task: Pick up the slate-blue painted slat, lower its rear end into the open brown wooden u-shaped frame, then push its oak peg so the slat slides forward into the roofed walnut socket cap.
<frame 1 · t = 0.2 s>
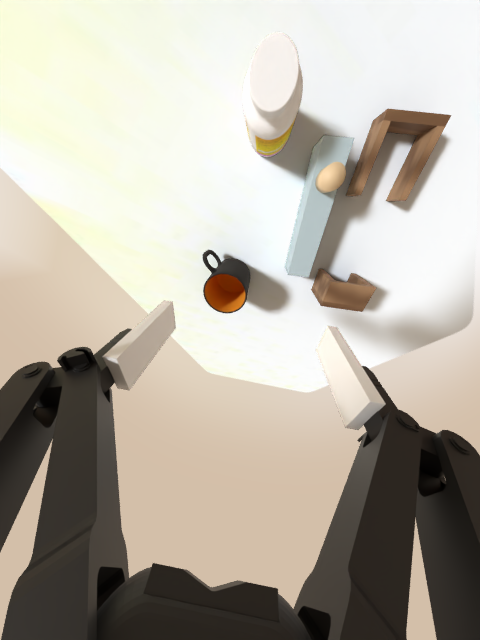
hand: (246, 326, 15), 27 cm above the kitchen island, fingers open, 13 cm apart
brown wooden u-shaped frame: (383, 164, 27), on the kitchen island
mug: (228, 269, 40), on the kitchen island
slat: (306, 218, 33), on the kitchen island
supplement bottle: (269, 129, 27), on the kitchen island
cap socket: (332, 282, 38), on the kitchen island
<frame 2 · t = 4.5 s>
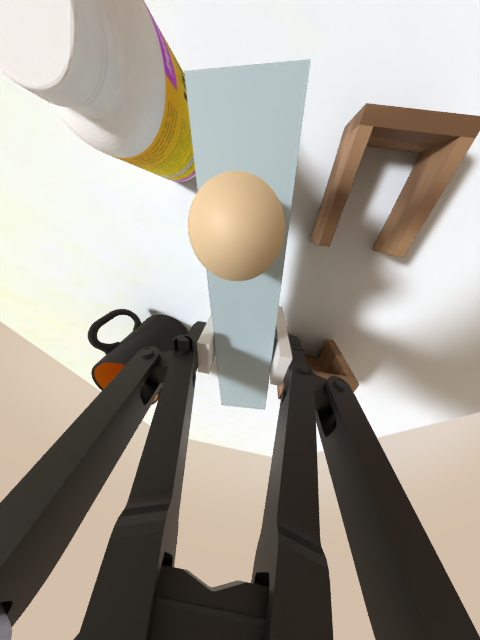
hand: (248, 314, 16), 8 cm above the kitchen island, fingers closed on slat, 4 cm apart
brown wooden u-shaped frame: (365, 197, 17), on the kitchen island
mug: (159, 326, 29), on the kitchen island
slat: (249, 284, 15), point 7 cm above the kitchen island, touching gripper
supplement bottle: (177, 139, 16), on the kitchen island
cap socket: (302, 348, 27), on the kitchen island
when the fingers open (0 cm above the kitchen island, at t = 7.9 s): slat stays where it is, on the kitchen island.
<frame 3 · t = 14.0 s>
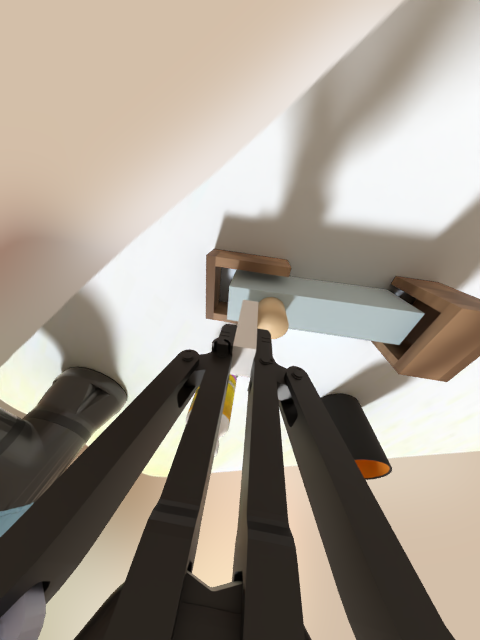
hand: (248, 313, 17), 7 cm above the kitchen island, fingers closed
brown wooden u-shaped frame: (246, 285, 23), on the kitchen island
mug: (326, 406, 36), on the kitchen island
slat: (305, 293, 23), on the kitchen island, touching gripper
supplement bottle: (220, 373, 34), on the kitchen island
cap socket: (396, 308, 22), on the kitchen island
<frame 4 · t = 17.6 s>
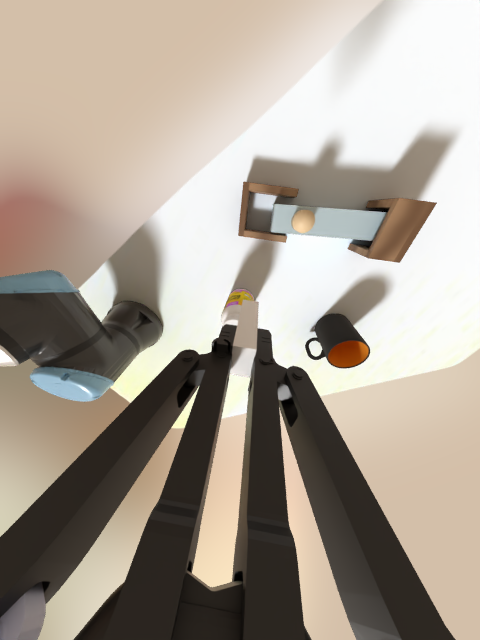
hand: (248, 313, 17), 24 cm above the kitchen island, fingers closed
brown wooden u-shaped frame: (265, 213, 33), on the kitchen island
mug: (323, 329, 45), on the kitchen island
slat: (321, 221, 32), on the kitchen island
supplement bottle: (241, 299, 43), on the kitchen island
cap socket: (370, 228, 32), on the kitchen island
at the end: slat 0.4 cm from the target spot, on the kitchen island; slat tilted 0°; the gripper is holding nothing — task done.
